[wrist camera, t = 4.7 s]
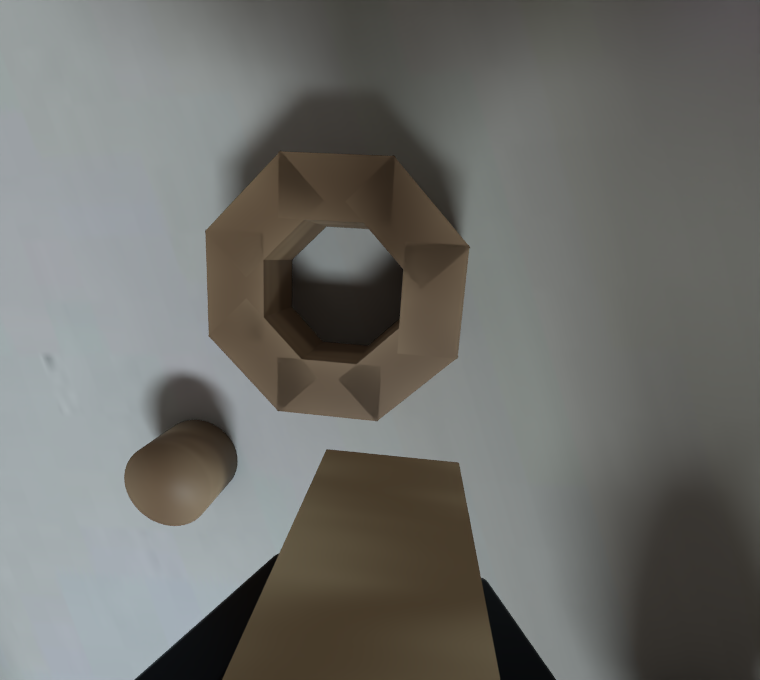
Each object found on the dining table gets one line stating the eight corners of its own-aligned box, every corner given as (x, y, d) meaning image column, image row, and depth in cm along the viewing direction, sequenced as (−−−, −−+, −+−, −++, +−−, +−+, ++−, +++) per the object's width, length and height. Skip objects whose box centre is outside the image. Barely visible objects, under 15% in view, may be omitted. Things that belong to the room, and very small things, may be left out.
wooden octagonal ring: (468, 177, 17) (479, 158, 14) (445, 399, 20) (450, 429, 16) (243, 168, 18) (201, 147, 15) (245, 380, 21) (210, 404, 17)
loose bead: (237, 423, 21) (207, 449, 18) (238, 495, 22) (210, 530, 19) (161, 415, 22) (120, 439, 19) (166, 486, 23) (127, 520, 20)
